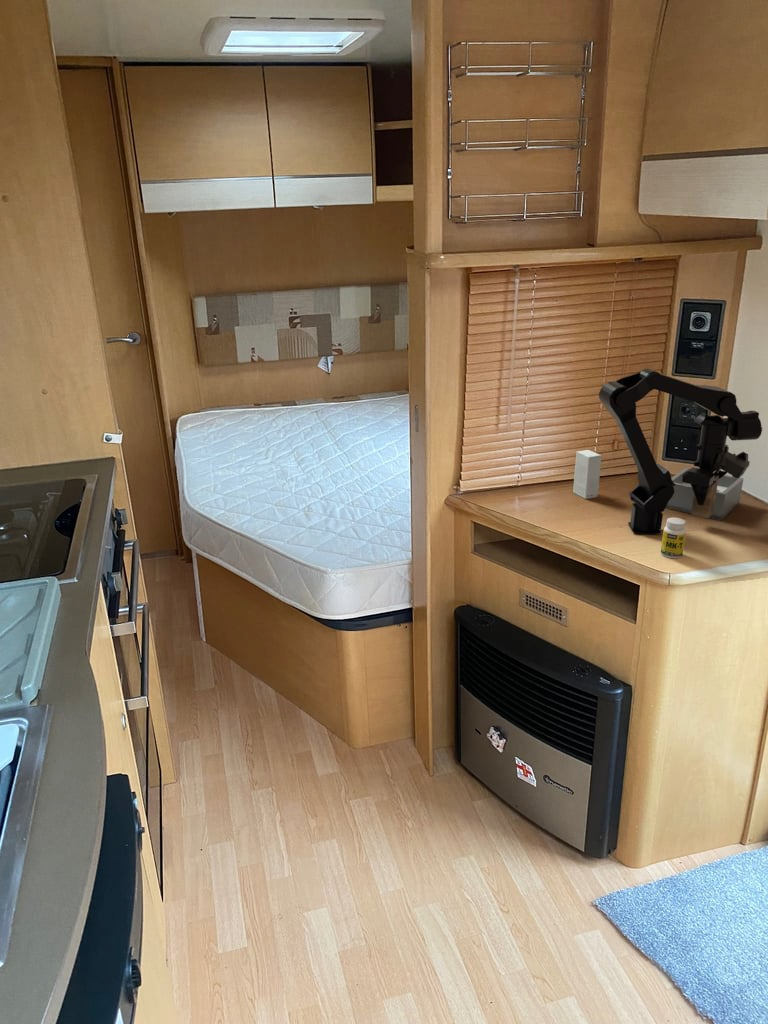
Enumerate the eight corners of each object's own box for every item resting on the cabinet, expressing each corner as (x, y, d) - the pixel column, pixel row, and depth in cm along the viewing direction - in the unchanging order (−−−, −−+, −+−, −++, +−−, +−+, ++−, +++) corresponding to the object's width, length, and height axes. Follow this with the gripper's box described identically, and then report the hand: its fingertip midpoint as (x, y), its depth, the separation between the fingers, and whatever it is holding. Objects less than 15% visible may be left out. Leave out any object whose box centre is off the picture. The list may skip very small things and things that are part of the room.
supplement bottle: (662, 558, 176) (666, 524, 173) (658, 549, 180) (663, 516, 177) (684, 559, 175) (689, 525, 172) (680, 550, 179) (685, 517, 176)
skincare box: (598, 497, 212) (602, 455, 207) (585, 499, 210) (588, 457, 206) (585, 490, 217) (588, 449, 213) (572, 492, 216) (575, 451, 211)
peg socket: (720, 520, 196) (725, 494, 193) (662, 507, 205) (665, 481, 202) (739, 503, 206) (743, 478, 204) (682, 491, 215) (686, 467, 213)
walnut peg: (707, 518, 189) (713, 479, 185) (691, 514, 191) (696, 476, 187) (713, 513, 192) (719, 475, 188) (696, 509, 194) (702, 471, 190)
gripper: (736, 457, 173) (725, 521, 179) (760, 438, 186) (749, 498, 192) (685, 448, 180) (677, 510, 185) (712, 430, 193) (703, 489, 199)
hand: (703, 502), depth 190 cm, fingers closed on walnut peg, 4 cm apart
